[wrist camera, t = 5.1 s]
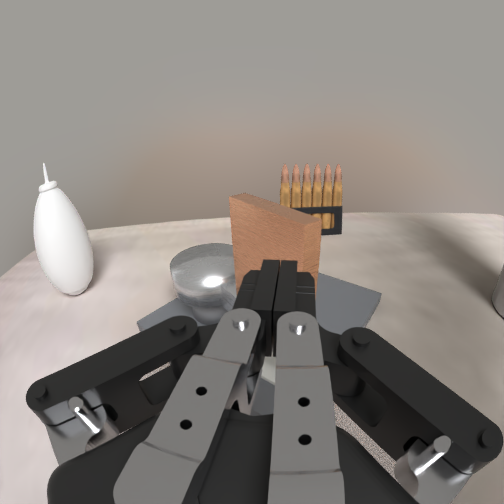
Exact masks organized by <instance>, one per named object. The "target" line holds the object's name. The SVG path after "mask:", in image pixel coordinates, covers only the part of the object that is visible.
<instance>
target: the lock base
mask: <svg viewBox="0 0 504 504" xmlns="http://www.w3.org/2000/svg"><path fill="white" fill-rule="evenodd" d="M381 294H382V293H379V292H376V291H373V290H370V289H367V288H364V287H361V286H358V285H355V284H352V283H349V282H346V281H343V280H340V279H336V278H333V277H330V276H327V275H324V274H321V273H318V279H317V290H316V300H315V301H316V319H317V322H318V323H319V325H320V326H321V327H323V328H324V329H326V330H328V331H330V332H333V333H337V334H340V335H342V333H343V332H344V331H346V330H347V329H349V328H353V327H363V328H365V326H366V325H367V323H368V321H369V320H370V318H371V316H372V314H373V313H374V311H375V309H376V307H377V305H378V304H379V302H380V298H381ZM227 312H228V311H227V310H226V309H225V308H224V307H223V306H222V307H218V308H207V309H205V308H195V307H191V306H188V305H186V304H184V303H182V302H181V301H180V300H179V299H178V298H176V299H174V300H173V301H171V302H169V303H168V304H166V305H164V306H162V307H161V308H159V309H157V310H156V311H154V312H152V313H151V314H149V315H147V316H146V317H144V318H142V319H141V320H139V321H137V324H138V327H139V330H140V331H141V332H142V331H144V330H146V329H148V328H150V327H152V326H154V325H156V324H158V323H160V322H162V321H164V320H166V319H168V318H171V317H174V316H180V315H183V316H189V317H191V318H193V319H194V320H195V321H196V322H197V325H198V326H205V325H212V324H216V323H219V322H220V320H221V318H222V316H223V315H224V314H225V313H227ZM275 371H276V357H273V352H272V355H271V357H266V356H265V359H264V364H263V367H262V375H261V378H260V382H259V385H258V389H257V392H256V395H255V399H254V402H253V405H252V409H251V413H250V415H251V416H259V415H267V414H274V395H275Z"/></svg>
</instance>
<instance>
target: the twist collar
mask: <svg viewBox="0 0 504 504" xmlns="http://www.w3.org/2000/svg"><path fill="white" fill-rule="evenodd" d="M229 202H230V217H231V230H232V243H233V245H229V244H221V243H211V244H203V245H198V246H194V247H191V248H188V249H186V250H184V251H182V252H180V253H179V254H177V255H176V256H175V257H174V258H173V259H172V261H171V263H170V270H171V275H172V280H173V285H174V289H175V294H176V296H177V298H178V299H179V300H180V301H181V302H182V303H184V304H186V305H188V306H191V307H195V308H205V309H207V308H218V307H222V306H223V307H224V308H225V309H226V310H227V311H230V310H232V308H233V306H234V303H235V300H236V297H237V294H238V291H239V289H240V286H241V283H242V280H243V277H244V275H245V274H247V273H248V272H249V271H250V270H261V266H262V262H263V259H271V260H280V265H281V260H298V264H297V272H310V274H311V275H312V276H313V278H314V280H315V300H316V290H317V279H318V268H319V256H320V242H321V227H322V219H320V218H317V217H314V216H312V215H309V214H306V213H303V212H300V211H297V210H295V209H292V208H289V207H286V206H283V205H280V204H277V203H274V202H271V201H268V200H265V199H262V198H259V197H256V196H253V195H249V194H246V193H243V194H238V195H234V196H230V197H229ZM272 352H273V349H272Z"/></svg>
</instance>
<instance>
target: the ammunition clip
mask: <svg viewBox="0 0 504 504" xmlns="http://www.w3.org/2000/svg"><path fill="white" fill-rule="evenodd" d="M341 180H342V174H341V168H340V165H339V164H338V165H337V167H336V171H335V177H334V186H333V192H332V181H331V169H330V166H329V164H327V166H326V169H325V175H324V186H323V190H322V188H321V172H320V167H319V165H318V164H317V165H316V167H315V171H314V181H313V188H312V190H311V178H310V169H309V166H308V164H306V166H305V168H304V173H303V186H302V195H301V189H300V175H299V169H298V166H297V164H295V166H294V169H293V176H292V188H291V205H290V187H289V174H288V169H287V166H286V164H284V166H283V169H282V176H281V189H280V205H283V206H286V207H289V208H292V209H295V210H297V211H300V212H303V213H306V214H309V215H312V216H314V217H317V218H320V219H322V227H321V235H336V234H341V232H342V206H341V205H342V181H341ZM311 200H312V204H311Z"/></svg>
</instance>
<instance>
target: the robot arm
mask: <svg viewBox="0 0 504 504" xmlns="http://www.w3.org/2000/svg"><path fill="white" fill-rule="evenodd" d="M297 264H298V260H281V265H280V260H271V259H263V262H262V266H261V270H250V271H249V272H248V273H247V274H245V275H244V277H243V280H242V283H241V286H240V289H239V291H238V294H237V297H236V300H235V303H234V306H233V308H232V310H230V311H228V312H227V313H225V314H224V315H223V316H222V318H221V320H220V322H219V323H216V324H212V325H205V326H198V325H197V322H196V321H195V320H194V319H193V318H191V317H189V316H183V315H180V316H174V317H171V318H168V319H166V320H164V321H162V322H160V323H158V324H156V325H154V326H152V327H150V328H148V329H146V330H144V331H142V332H140V333H138V334H136V335H134V336H132V337H129V338H127V339H125V340H123V341H121V342H119V343H117V344H115V345H113V346H111V347H109V348H107V349H104V350H102V351H100V352H98V353H96V354H94V355H92V356H90V357H88V358H85V359H83V360H81V361H79V362H77V363H75V364H73V365H70V366H68V367H66V368H64V369H62V370H60V371H57V372H55V373H53V374H51V375H49V376H46V377H44V378H42V379H40V380H38V381H36V382H34V383H33V384H32V385H31V386H30V388H29V389H28V391H27V394H26V402H27V405H28V406H29V407H30V409H31V410H32V411H33V412H34V413H35V414H36V415H37V416H38V417H39V418H40V420H41V421H42V422H43V423H44V424H45V426H46V429H47V432H48V435H49V438H50V441H51V444H52V447H53V450H54V453H55V456H56V459H57V461H58V464H59V466H58V467H57V468H56V469H55V470H54V472H53V473H52V475H51V477H50V479H49V482H48V487H47V497H48V504H450V503H451V502H452V501H453V499H454V498H455V497H456V496H457V494H458V493H459V492H460V490H461V489H462V488H463V486H464V485H465V484H466V482H467V481H468V480H469V478H470V477H471V475H473V474H474V473H476V472H477V471H478V470H480V469H481V468H483V467H484V466H485V465H487V464H488V463H490V462H491V461H492V460H494V459H495V458H496V457H497V456H498V455H499V453H500V452H501V449H502V446H503V435H502V432H501V430H500V428H499V427H498V426H497V425H496V424H495V423H493V422H492V421H491V420H490V419H488V418H487V417H486V416H484V415H483V414H482V413H480V412H479V411H478V410H477V409H475V408H474V407H473V406H471V405H470V404H469V403H467V402H466V401H465V400H464V399H462V398H461V397H460V396H458V395H457V394H456V393H454V392H453V391H452V390H450V389H449V388H448V387H447V386H445V385H444V384H443V383H441V382H440V381H439V380H437V379H436V378H435V377H433V376H432V375H431V374H429V373H428V372H427V371H425V370H424V369H423V368H422V367H420V366H419V365H418V364H416V363H415V362H414V361H412V360H411V359H410V358H408V357H407V356H406V355H404V354H403V353H402V352H400V351H399V350H398V349H396V348H395V347H394V346H392V345H391V344H390V343H388V342H387V341H386V340H384V339H383V338H382V337H380V336H379V335H378V334H376V333H375V332H373V331H372V330H370V329H367V328H363V327H353V328H349V329H347V330H346V331H344V332H343V333H342V335H340V334H337V333H333V332H330V331H328V330H326V329H324V328H323V327H321V326H320V325H319V323H318V322H317V319H316V301H315V280H314V278H313V276H312V275H311V274H310V272H297ZM492 302H493V305H494V307H495V308H496V310H497V311H498V312H499V314H500V315H501V316H502V317H503V318H504V265H503V268H502V271H501V274H500V276H499V279H498V282H497V284H496V287H495V290H494V292H493V295H492ZM272 349H273V357H276V371H275V395H274V414H267V415H259V416H251V415H250V413H251V409H252V405H253V402H254V399H255V395H256V392H257V389H258V385H259V382H260V378H261V375H262V367H263V364H264V359H265V356H266V357H271V355H272ZM168 362H169V363H170V366H168V367H167V368H165V369H163V370H161V371H159V372H157V373H156V374H154V375H152V376H150V377H148V378H146V379H144V380H142V381H139V380H140V379H141V378H142V377H143V376H144V375H146V374H147V373H149V372H151V371H153V370H155V369H157V368H159V367H161V366H162V365H164V364H166V363H168ZM333 401H334V402H335V403H336V404H337V405H338V406H339V407H340V408H341V409H342V410H343V411H344V412H345V413H346V414H347V415H348V416H349V417H350V418H351V419H352V420H353V421H354V422H355V423H356V424H357V425H358V426H359V427H360V428H361V429H362V430H363V431H364V432H365V433H366V434H367V435H368V436H369V437H370V438H371V439H373V440H374V441H375V442H376V443H377V444H378V445H379V446H380V447H381V448H382V449H383V450H384V451H385V452H386V453H387V454H389V455H390V456H391V457H392V458H393V459H394V460H395V461H396V464H395V467H394V474H395V477H396V479H397V481H398V482H399V483H400V484H399V483H398V482H397V481H396V480H395V479H394V478H393V477H392V476H391V475H390V474H389V473H388V472H387V471H386V470H385V469H384V468H383V467H382V466H381V465H380V464H379V463H378V462H377V461H376V460H375V459H374V458H373V456H372V455H371V454H370V453H369V452H368V451H367V450H366V449H365V448H364V447H363V446H362V445H361V444H360V443H359V442H358V441H357V440H356V439H355V438H354V437H353V436H352V435H351V434H349V433H348V432H346V431H345V430H343V429H341V428H339V427H337V426H336V423H335V413H334V404H333ZM132 427H133V428H132ZM130 428H131V429H130ZM128 429H129V430H128ZM126 430H127V431H126ZM124 431H125V432H124ZM122 432H124V433H122ZM120 433H122V434H120ZM119 434H120V435H119Z"/></svg>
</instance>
